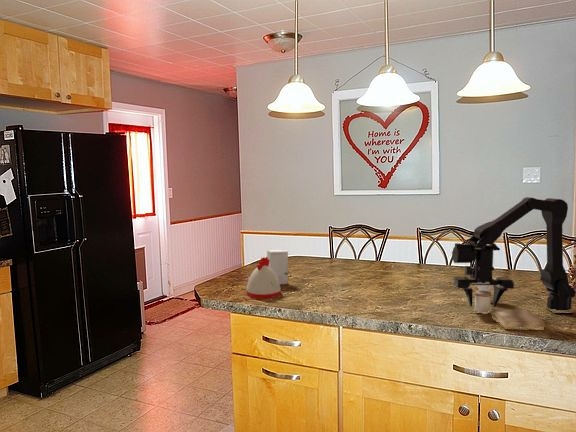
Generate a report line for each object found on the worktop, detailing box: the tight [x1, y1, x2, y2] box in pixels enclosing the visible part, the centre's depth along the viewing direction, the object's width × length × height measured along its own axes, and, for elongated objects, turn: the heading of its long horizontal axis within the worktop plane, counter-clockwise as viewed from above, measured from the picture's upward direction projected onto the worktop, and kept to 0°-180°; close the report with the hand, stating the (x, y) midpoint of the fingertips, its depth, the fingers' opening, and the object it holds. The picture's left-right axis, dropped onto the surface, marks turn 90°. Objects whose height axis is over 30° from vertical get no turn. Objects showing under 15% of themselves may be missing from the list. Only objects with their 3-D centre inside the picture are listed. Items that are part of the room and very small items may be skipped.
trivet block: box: [490, 309, 546, 328], centre depth 151 cm, size 12×12×3 cm
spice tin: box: [474, 290, 492, 312], centre depth 163 cm, size 5×5×7 cm
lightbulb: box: [476, 282, 493, 292], centre depth 177 cm, size 6×6×11 cm
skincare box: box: [266, 249, 289, 286], centre depth 206 cm, size 8×6×15 cm
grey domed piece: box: [246, 256, 282, 299], centre depth 190 cm, size 14×14×15 cm
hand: (482, 306), depth 163 cm, fingers open, 8 cm apart
